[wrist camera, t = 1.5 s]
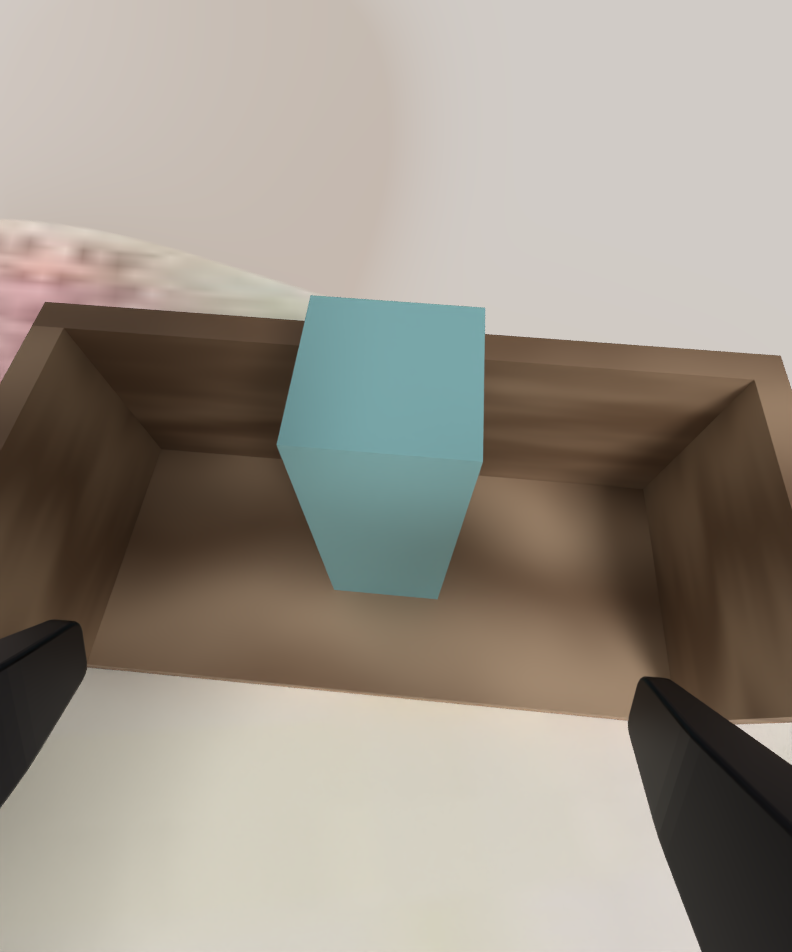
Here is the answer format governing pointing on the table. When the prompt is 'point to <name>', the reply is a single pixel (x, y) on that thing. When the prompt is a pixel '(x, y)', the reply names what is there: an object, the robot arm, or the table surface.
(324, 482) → the pillar block
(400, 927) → the table surface
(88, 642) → the open box
